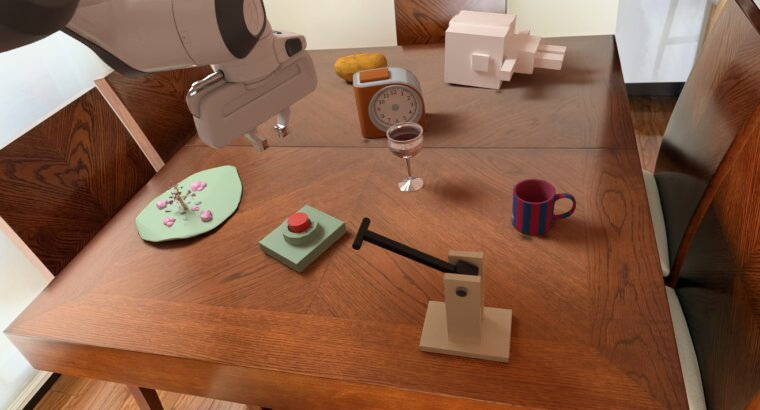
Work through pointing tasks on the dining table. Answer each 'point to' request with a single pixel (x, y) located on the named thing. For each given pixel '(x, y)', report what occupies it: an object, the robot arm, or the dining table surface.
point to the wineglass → (406, 150)
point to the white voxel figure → (493, 50)
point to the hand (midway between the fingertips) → (273, 142)
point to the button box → (303, 239)
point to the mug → (536, 206)
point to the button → (298, 222)
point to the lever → (410, 252)
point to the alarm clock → (387, 100)
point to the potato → (358, 64)
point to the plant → (191, 206)
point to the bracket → (466, 317)
